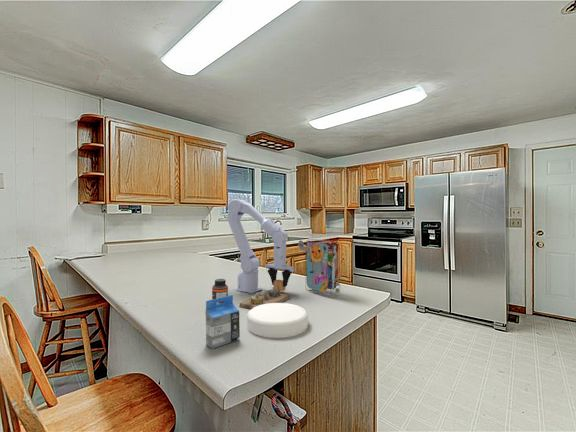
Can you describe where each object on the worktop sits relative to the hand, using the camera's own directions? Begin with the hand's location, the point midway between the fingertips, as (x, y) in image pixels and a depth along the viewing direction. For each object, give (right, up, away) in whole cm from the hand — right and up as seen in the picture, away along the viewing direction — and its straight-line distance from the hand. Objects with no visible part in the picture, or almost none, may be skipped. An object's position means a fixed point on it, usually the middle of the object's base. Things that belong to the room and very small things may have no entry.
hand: (279, 285), depth 132 cm
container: (0, -4, -38) cm, 38 cm away
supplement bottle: (-22, -4, -23) cm, 32 cm away
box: (+17, -4, +3) cm, 17 cm away
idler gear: (0, -2, 0) cm, 2 cm away
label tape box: (-15, -4, -51) cm, 53 cm away
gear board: (-5, -4, -14) cm, 16 cm away
